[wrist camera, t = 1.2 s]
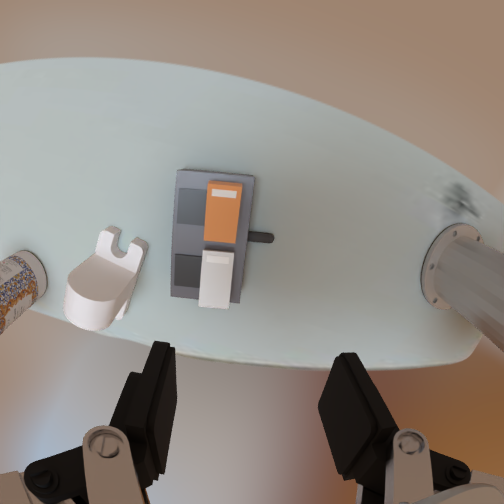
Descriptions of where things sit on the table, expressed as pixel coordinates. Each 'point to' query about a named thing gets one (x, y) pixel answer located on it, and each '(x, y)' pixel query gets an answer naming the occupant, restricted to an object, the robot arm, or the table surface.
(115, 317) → the cable organizer
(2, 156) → the table surface
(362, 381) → the robot arm
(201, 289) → the rocker grey
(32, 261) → the bath foam
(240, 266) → the rocker switch box
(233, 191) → the rocker orange
